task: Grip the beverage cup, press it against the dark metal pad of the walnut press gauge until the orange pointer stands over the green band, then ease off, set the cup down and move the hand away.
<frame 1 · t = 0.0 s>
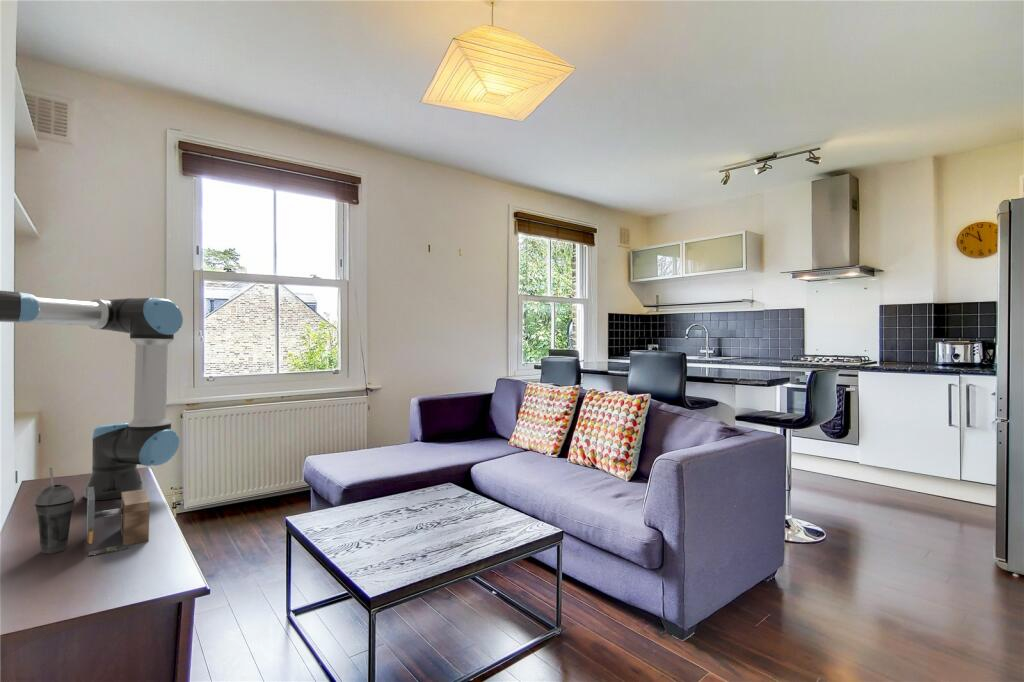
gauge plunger: (113, 510, 128), point 8 cm above the table, slide at 0.0 cm
gauge housing: (97, 541, 127), on the table
beverage cup: (54, 550, 122), on the table
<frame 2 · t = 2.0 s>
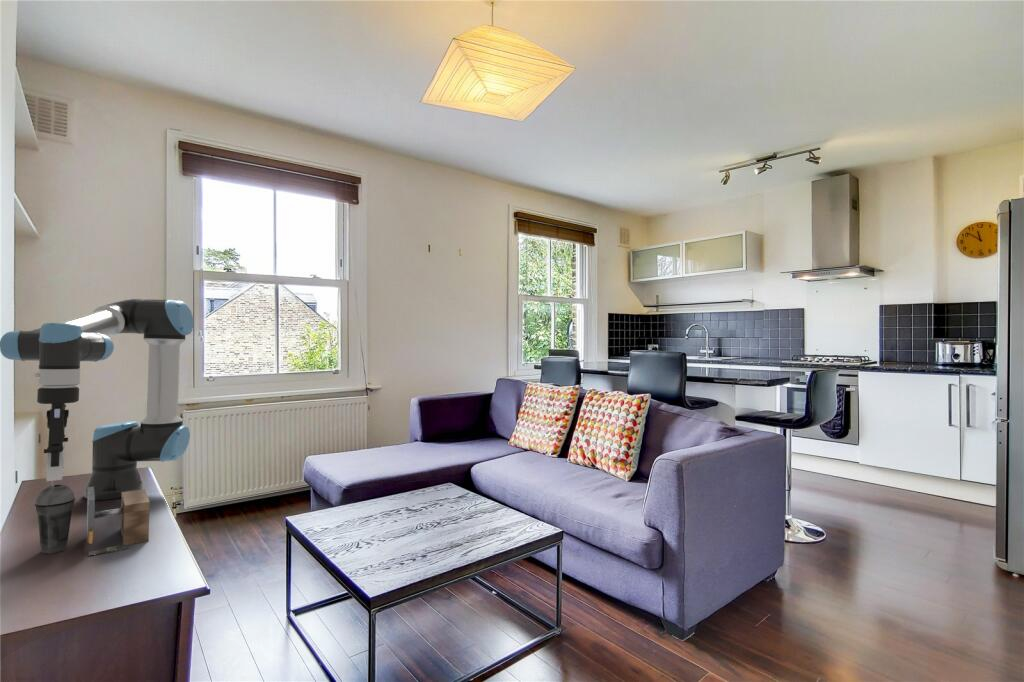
hand: (55, 474, 121), 18 cm above the table, tool pointing down, fingers open, 13 cm apart
nothing on the table moved.
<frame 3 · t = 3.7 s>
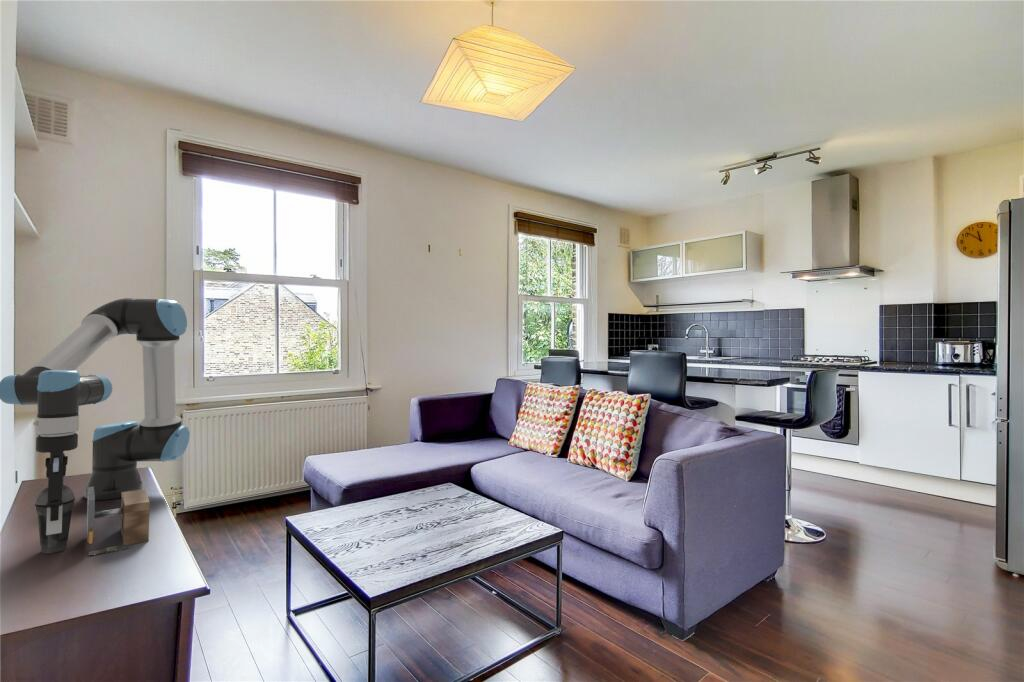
hand: (54, 528, 122), 5 cm above the table, tool pointing down, fingers closed on beverage cup, 7 cm apart
beverage cup: (54, 550, 122), on the table, touching gripper
everything else where it was.
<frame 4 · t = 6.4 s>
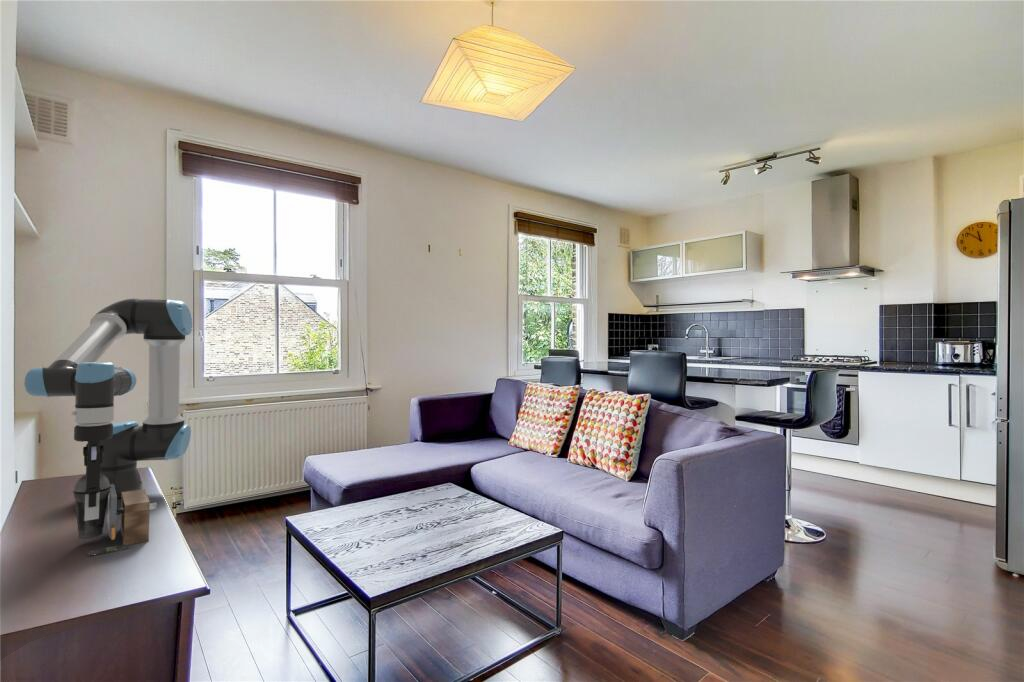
hand: (91, 514, 126), 7 cm above the table, tool pointing down, fingers closed on beverage cup, 7 cm apart
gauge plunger: (133, 507, 131), point 8 cm above the table, slide at 4.2 cm, touching beverage cup
beverage cup: (90, 536, 126), point 2 cm above the table, touching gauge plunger, gripper
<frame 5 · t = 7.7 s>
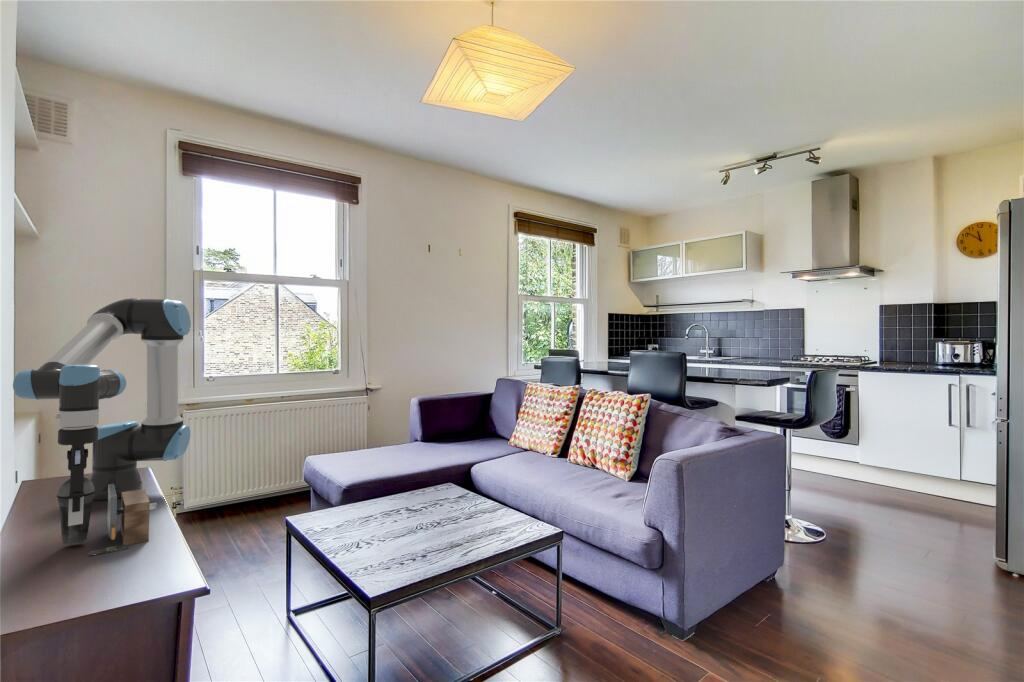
hand: (75, 519, 124), 6 cm above the table, tool pointing down, fingers closed on beverage cup, 7 cm apart
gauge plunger: (133, 507, 131), point 8 cm above the table, slide at 4.2 cm
beverage cup: (74, 541, 124), point 1 cm above the table, touching gripper
when the fingers open (6 cm above the table, at t = 8.1 s): beverage cup stays where it is, on the table.
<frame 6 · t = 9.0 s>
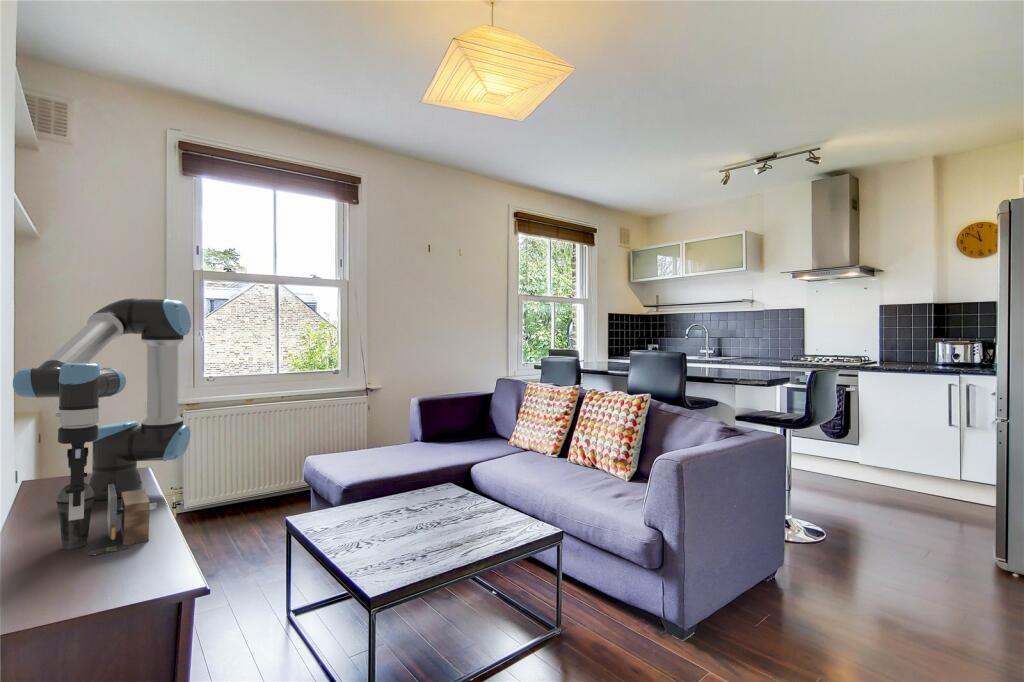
hand: (76, 511, 124), 8 cm above the table, tool pointing down, fingers open, 13 cm apart
beverage cup: (74, 546, 124), on the table
everything else where it was.
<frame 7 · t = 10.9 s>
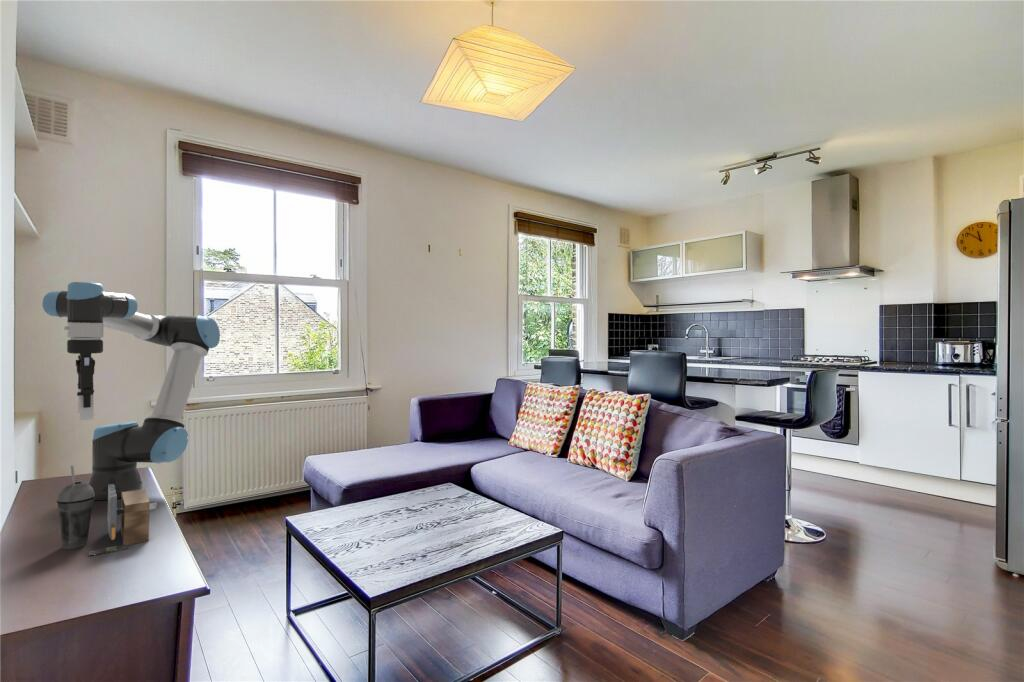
hand: (85, 416, 138), 30 cm above the table, tool pointing down, fingers open, 13 cm apart
nothing on the table moved.
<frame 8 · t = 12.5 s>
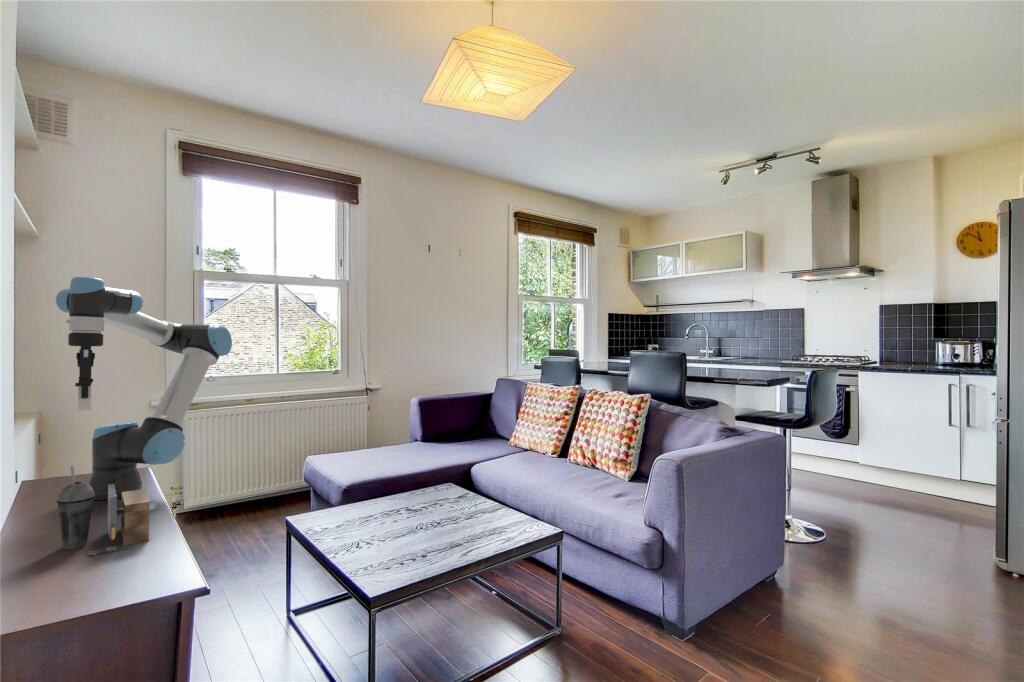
hand: (84, 407, 141), 32 cm above the table, tool pointing down, fingers open, 13 cm apart
nothing on the table moved.
at the end: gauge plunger slide at 4.2 cm; beverage cup touching table; beverage cup tilted 0° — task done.
